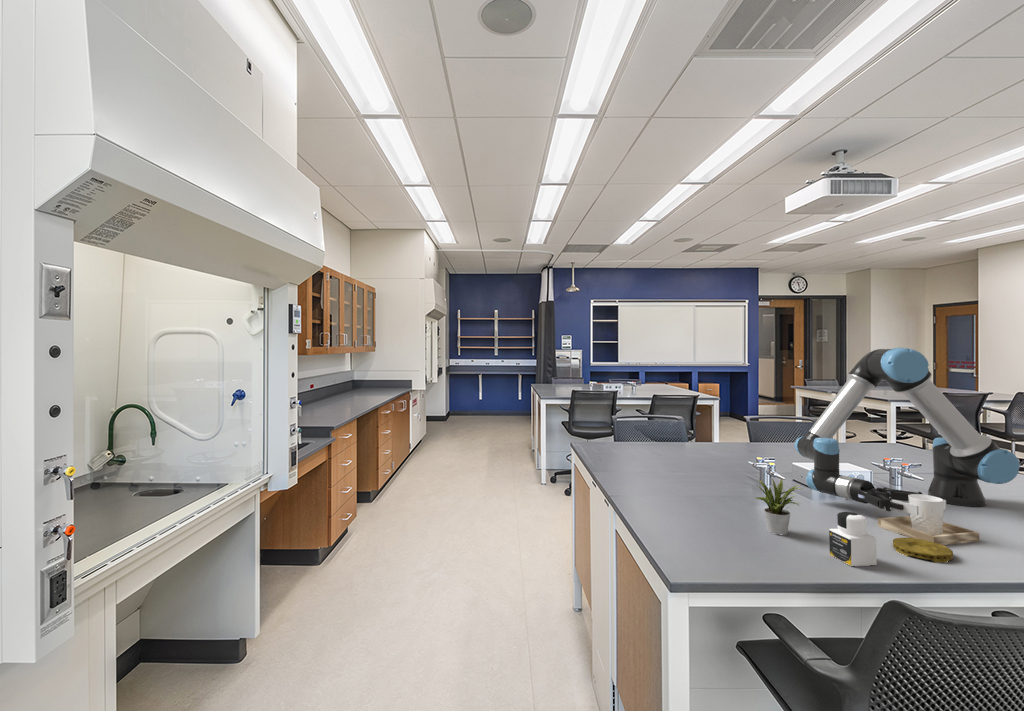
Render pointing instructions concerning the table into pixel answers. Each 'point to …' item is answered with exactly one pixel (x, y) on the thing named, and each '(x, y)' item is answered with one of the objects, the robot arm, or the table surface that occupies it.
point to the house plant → (777, 508)
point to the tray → (948, 536)
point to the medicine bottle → (852, 541)
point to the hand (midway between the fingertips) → (932, 507)
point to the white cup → (927, 514)
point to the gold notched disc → (923, 549)
